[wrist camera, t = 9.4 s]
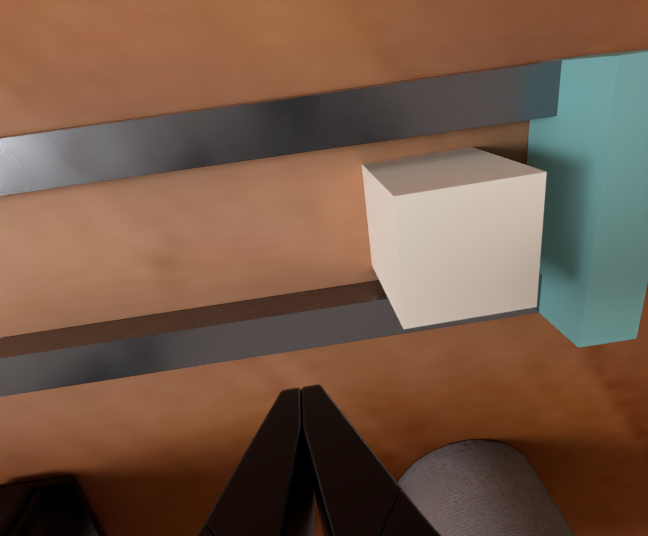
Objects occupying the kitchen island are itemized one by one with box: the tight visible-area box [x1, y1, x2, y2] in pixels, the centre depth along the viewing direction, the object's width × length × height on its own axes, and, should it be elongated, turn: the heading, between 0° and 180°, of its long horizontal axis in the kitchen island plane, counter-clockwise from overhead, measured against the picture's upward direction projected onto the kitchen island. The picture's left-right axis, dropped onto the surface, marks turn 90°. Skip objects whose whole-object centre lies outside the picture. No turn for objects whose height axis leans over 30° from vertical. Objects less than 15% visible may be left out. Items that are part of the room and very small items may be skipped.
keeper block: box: [362, 147, 547, 329], centre depth 17 cm, size 5×5×6 cm
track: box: [0, 49, 648, 397], centre depth 17 cm, size 11×28×5 cm, turn 97°
